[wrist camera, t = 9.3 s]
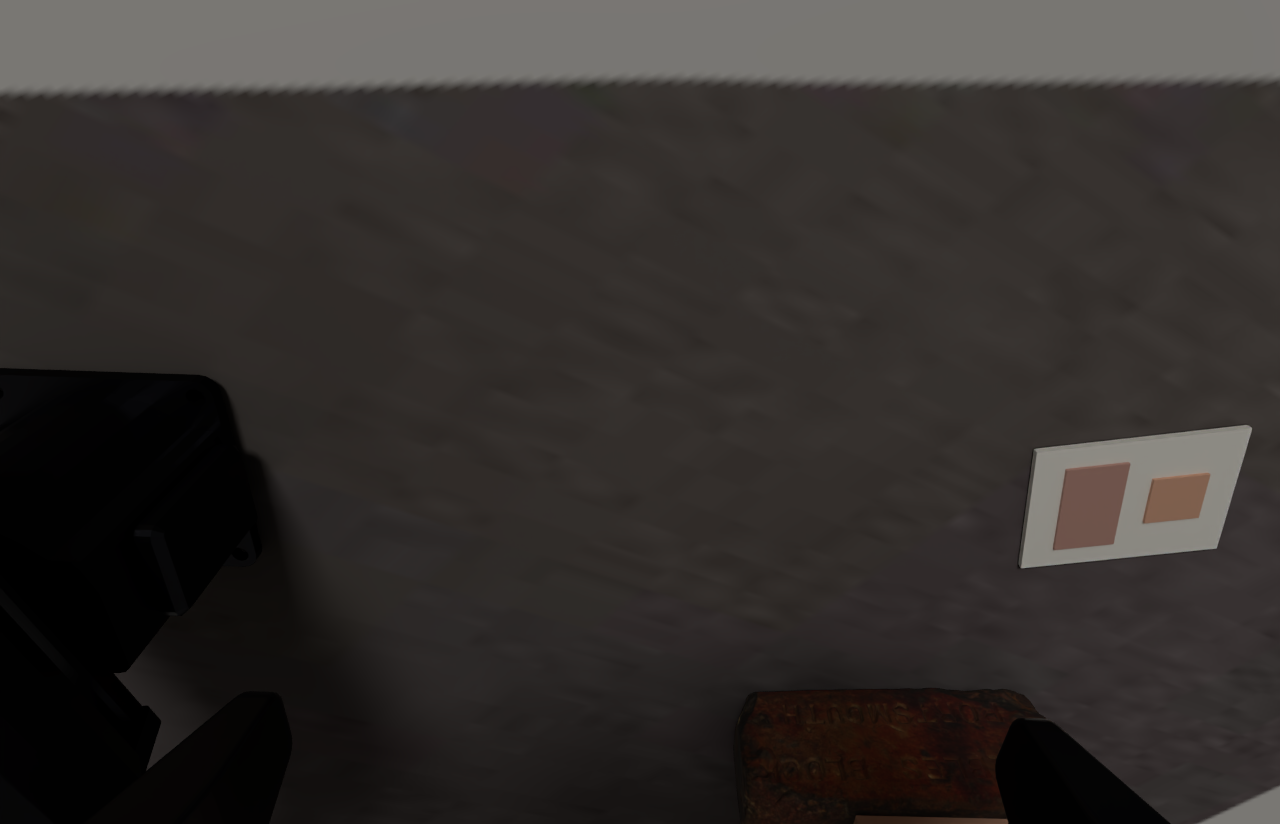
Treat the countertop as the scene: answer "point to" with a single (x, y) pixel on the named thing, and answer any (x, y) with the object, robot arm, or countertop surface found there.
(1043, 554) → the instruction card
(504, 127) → the countertop surface
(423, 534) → the countertop surface
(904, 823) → the top block
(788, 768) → the brick
